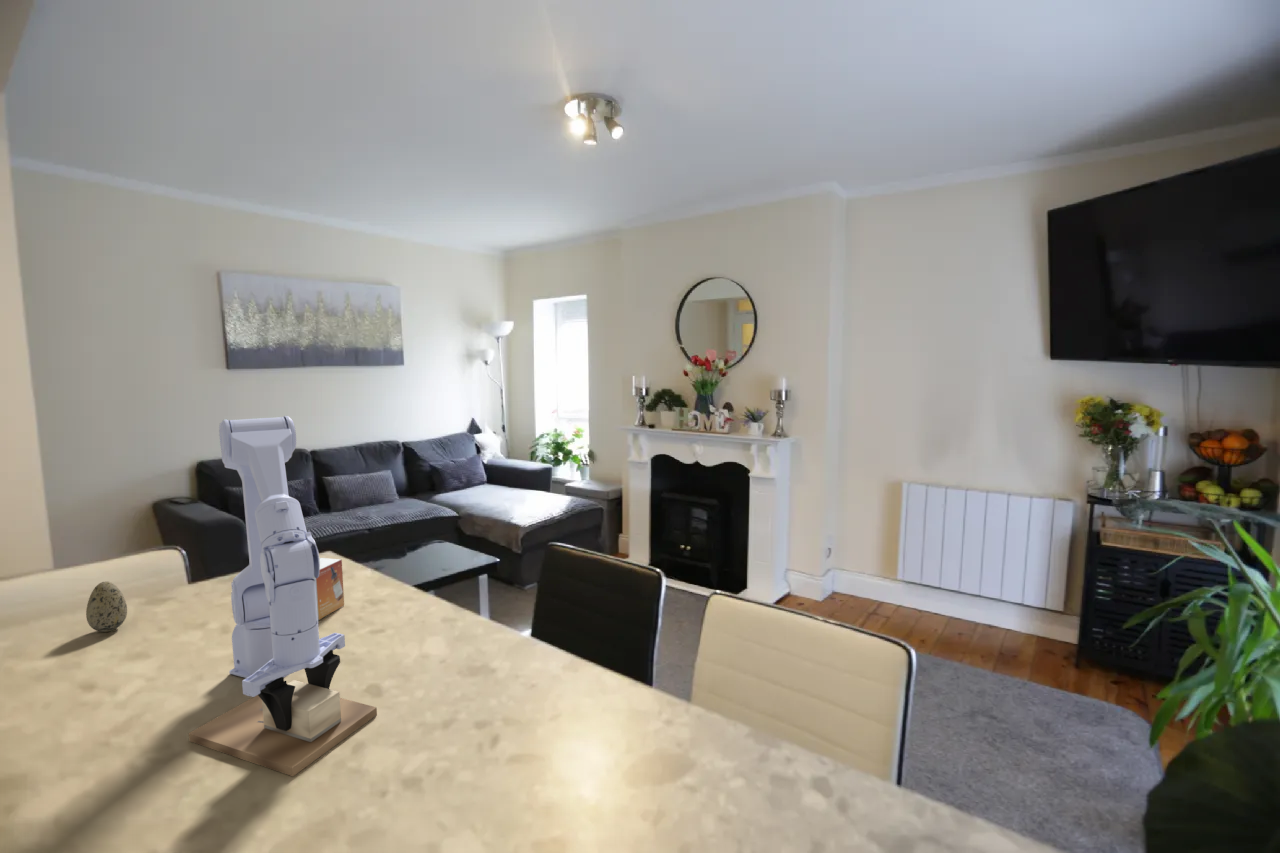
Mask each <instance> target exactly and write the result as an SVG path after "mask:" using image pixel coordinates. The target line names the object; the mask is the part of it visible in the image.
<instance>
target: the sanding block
mask: <svg viewBox="0 0 1280 853" xmlns="http://www.w3.org/2000/svg"><path fill="white" fill-rule="evenodd" d="M286 683H287V682H286ZM287 684H289V685H292V686H295V690H294V693H293V697H292V705H291V713H292V725H291V729H289V730H288V731H284V730H280V729H277V728H276V725H275V723H274V720H273V718H272V715H271V713H270V711H269V710H268V708H267V706H266V705H265V703H264V702H263V701H262V708H263V720H264V728H266V729H269V730H273V731H276V732H279V733H282V734H286V735H289V736H292V737H296V738H299V739H302V740H305V741H309V742H312V741H313V740H315V739H316V738H318V737H319V736H321V735H322V734H324V733H325V732H326V731H328V730H329V729H331V728H332V727H334V726H335V725H337V724H338V723H339V722H341V709H340V698H341V696H340V691H338V690H333V689H330V688H329V689H327V688H323V687H319V686H315V685H311V684H308V682H307V683H306V682H302V681H298V680H296V679H292V681H289V682H288V683H287Z"/></svg>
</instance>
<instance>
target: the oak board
mask: <svg viewBox="0 0 1280 853" xmlns="http://www.w3.org/2000/svg"><path fill="white" fill-rule="evenodd" d="M340 709H341V722H339V723H338V724H337V725H335V726H334V727H332V728H331V729H329V730H328V731H326V732H325V733H324V734H322V735H321V736H319V737H318V738H316V739H315V740H313V741H312V742H309V741H305V740H302V739H299V738H296V737H292V736H289V735H286V734H282V733H279V732H276V731H273V730H269V729H266V728H264V720H263V708H262V699H261V698H260V697H259V696H258V695H257V696H255V697H250V698H249V699H247V700H246V701H244V702H242V703H240V704H239V705H236V706H235V707H233V708H231V709H228V710H227V711H225V712H224V713H222V714H221V715H219V716H217V717H215V718H213V719H211V720H209V721H207V722H206V723H204V724H202V725H201V726H198V727H197V728H196V729H193V730H192V731H190V732H188V741H189V742H191V743H193V744H196V745H200V746H202V747H204V748H208V749H210V750H215V751H217V752H220V753H223V754H226V755H229V756H231V757H234V758H238V759H241V760H244V761H246V762H248V763H249V762H250V763H252V764H256V765H258V766H260V767H264V768H266V769H270V770H273V771H276V772H279V773H282V774H284V775H288V776H291V777H294V776H296V775H297V774H299V773H300V772H301V771H302V770H304V769H306V767H308V766H310V765H311V764H312V763H313V762H315V761H316V760H318V759H319V758H320V757H322V756H323V755H325V754H326V753H327V752H328V751H330V750H331V749H333V748H335V746H336V745H338V744H339V743H341V742H342V741H344V740H345V739H346V738H348V737H349V736H350V735H351V734H353V733H354V732H356V731H357V730H358V729H360V728H361V727H362V726H364V725H366V723H368V722H370V721H371V720H372V719H373V718H375V717H376V716H378V711H377V710H378V709H377V706H372V705H370V704H365V703H361V702H357V701H354V700H350V699H347V698H343V697H340Z"/></svg>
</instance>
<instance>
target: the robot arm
mask: <svg viewBox="0 0 1280 853" xmlns="http://www.w3.org/2000/svg"><path fill="white" fill-rule="evenodd" d="M218 428H219V429H218V432H219V434H218V436H219V443H220V444H219V445H220V449H221V450H220V451H221V461H222V463H223V465H224V468H226V469H230V470H235V471H237V473H238V475H239V477H240V480H241V483H242V485H241V486H242V497H243V504H244V505H243V506H244V517H245V519H244V520H245V528H246V538H247V540H246V541H247V551H248V559H249V563H248V565H247V566H246V567H245V568H244V569H242V570H241V571H240V572H239V573H238V574H236V576H235V577H233V579H232V582H231V584H230V585H231V594H230V598H231V610H232V617H233V621H234V623H235V624H236V625H235V626H234V628H233V630H232V633H231V645H232V656H233V667H234V668H232V669H230V670H229V674H230V675H233V676H237V677H239V678H240V677H241V678H244V679H243V680H241V684H242V686H241V687H242V695H245V696H247V697H250V698H253V697H255V696H257V695H258V696H259V697H260V698H261V699H262V701H263V702H264V703H265V705H266V706H267V708H268V710H269V711H270V713H271V715H272V718H273V720H274V723H275V725H276V728H277V729H280V730H284V731H288V730H289V729H291V725H292V713H291V705H292V697H293V693H294V690H295V686H292V685H289V684H287V680H285V679H284V678H286V677H288V676H289V675H291V674H294V673H297V672H299V671H302V670H304V672H305V674H306V679H307V684H311V685H315V686H319V687H323V688H327V689H330V685H331V683H332V679H333V677H334V675H335V673H336V671H337V669H338V667H339V666H340V663H341V656H340V655H338V654H336V653H335V654H334V650H336V649H337V650H341V649H343V648H345V647H346V640H345V639H346V638H345V634H344V633H343V634H342V633H338V632H332V633H330V634H329V635H326V636H323V637H321V638H320V630H319V629H320V628H319V620H318V614H317V599H316V584H315V579H314V578H313V576H315V577H316V578H318V577H319V572H320V559H319V558H320V554H319V549H318V546H317V543H316V541H315V539H314V538H313V536H312V533H311V531H308V530H307V527H306V523H305V518H304V515H303V511H302V507H301V503H300V502H299V500H298V499H296V498H294V497H292V496H290V495H289V488H288V479H287V471H286V465H285V464H286V463H288V462H289V460H290V459H292V457H293V453H294V451H295V450H296V447H297V433H296V426H295V422H294V420H293V419H292V418H291V417H290V416H289V415H284V416H277V417H276V416H275V417H274V416H273V417H259V418H241V419H227V418H226V419H223V420H222V421H221V422H220V423H219V427H218Z"/></svg>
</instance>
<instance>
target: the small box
mask: <svg viewBox="0 0 1280 853" xmlns="http://www.w3.org/2000/svg"><path fill="white" fill-rule="evenodd" d="M319 559H320V572H319V577H318V578H316V577H315V576H313V578H314V579H315V584H316V599H317V614H318V621H320V620H322V619H323V618H324V617H327V616H329V615H330V614H332V613H333V612H335V611H337V610H339V609H341V608H343V607H344V606H345V594H344V593H345V592H344V591H345V590H344V578H343V560H342V559H339V558H327V557H319Z"/></svg>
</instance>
